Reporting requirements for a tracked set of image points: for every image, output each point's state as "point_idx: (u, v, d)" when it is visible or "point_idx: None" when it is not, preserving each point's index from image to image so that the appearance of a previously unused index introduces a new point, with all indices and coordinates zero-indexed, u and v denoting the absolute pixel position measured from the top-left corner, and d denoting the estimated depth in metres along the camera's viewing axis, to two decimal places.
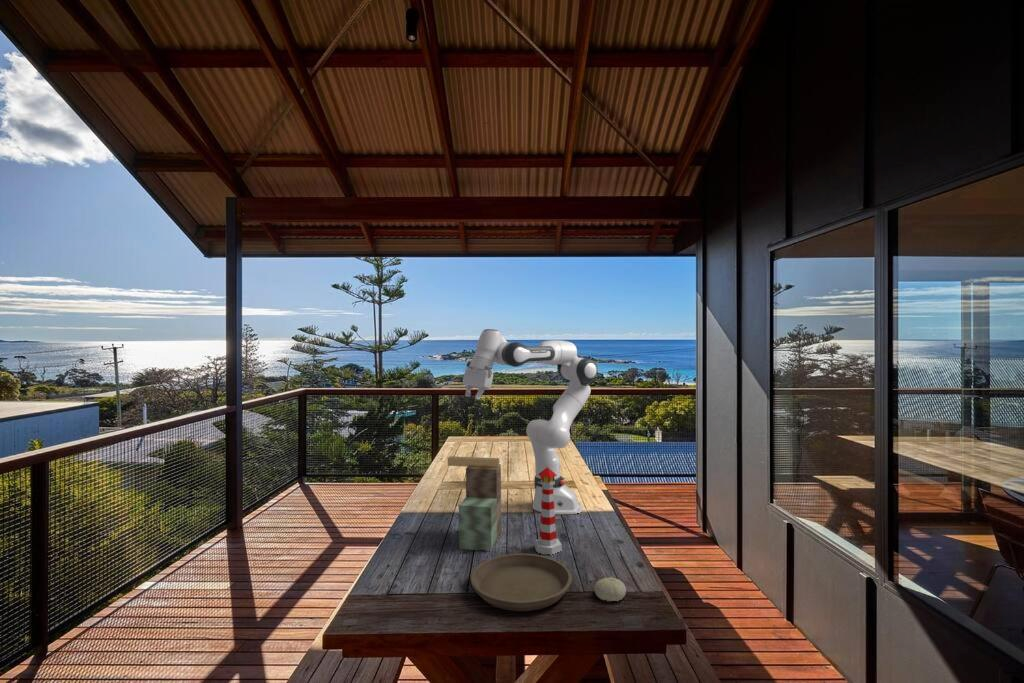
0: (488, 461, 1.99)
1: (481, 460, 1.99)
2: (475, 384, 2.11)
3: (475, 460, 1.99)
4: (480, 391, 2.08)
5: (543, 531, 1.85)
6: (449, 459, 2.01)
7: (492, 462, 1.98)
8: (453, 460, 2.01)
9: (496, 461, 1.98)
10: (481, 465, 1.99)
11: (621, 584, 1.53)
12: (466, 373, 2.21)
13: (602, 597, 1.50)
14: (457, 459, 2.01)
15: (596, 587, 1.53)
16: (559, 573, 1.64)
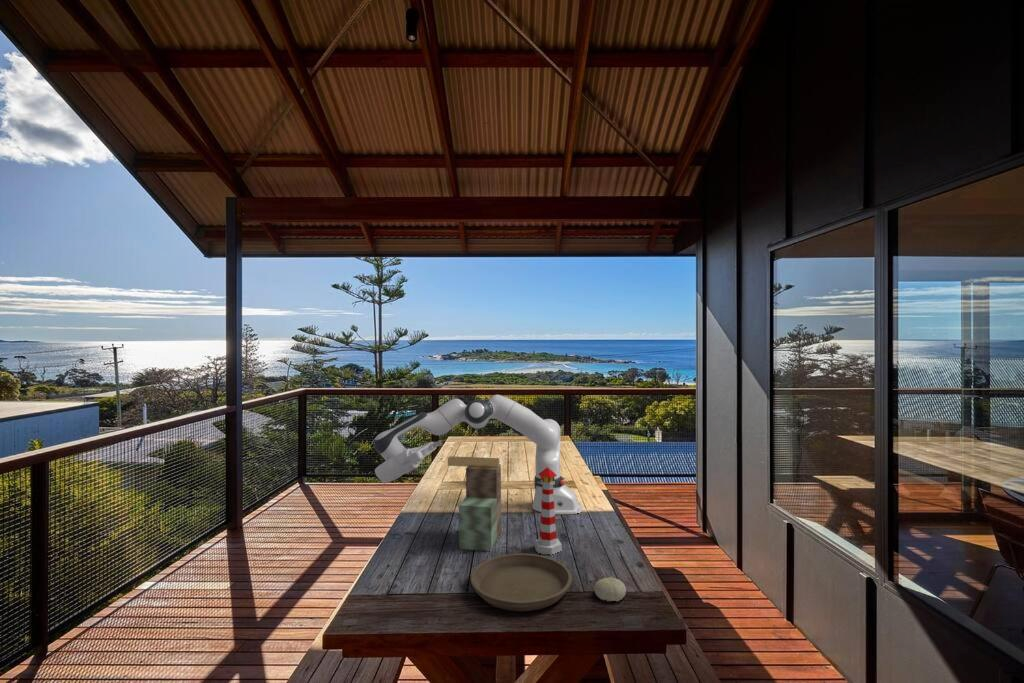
0: (488, 461, 1.99)
1: (481, 460, 1.99)
2: (425, 456, 2.12)
3: (475, 460, 1.99)
4: (425, 452, 2.08)
5: (543, 531, 1.85)
6: (449, 459, 2.01)
7: (492, 462, 1.98)
8: (453, 460, 2.01)
9: (496, 461, 1.98)
10: (481, 465, 1.99)
11: (621, 584, 1.53)
12: (427, 454, 2.23)
13: (602, 597, 1.50)
14: (457, 459, 2.01)
15: (596, 587, 1.53)
16: (559, 573, 1.64)
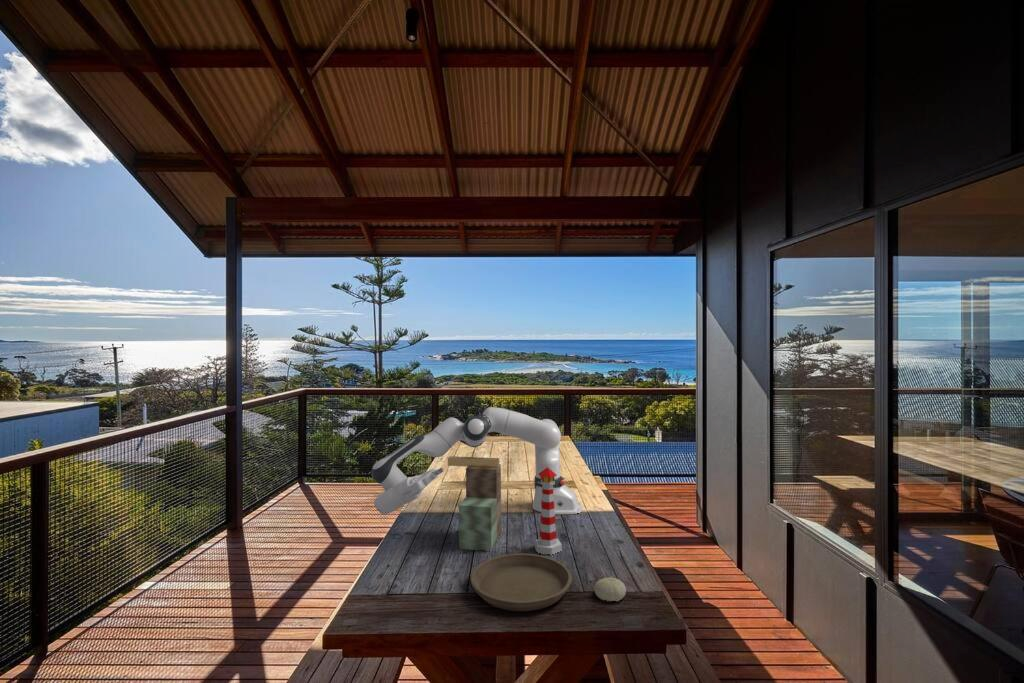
0: (488, 461, 1.99)
1: (481, 460, 1.99)
2: None
3: (475, 460, 1.99)
4: (427, 481, 1.98)
5: (543, 531, 1.85)
6: (449, 459, 2.01)
7: (492, 462, 1.98)
8: (453, 460, 2.01)
9: (496, 461, 1.98)
10: (481, 465, 1.99)
11: (621, 584, 1.53)
12: None
13: (602, 597, 1.50)
14: (457, 459, 2.01)
15: (596, 587, 1.53)
16: (559, 573, 1.64)
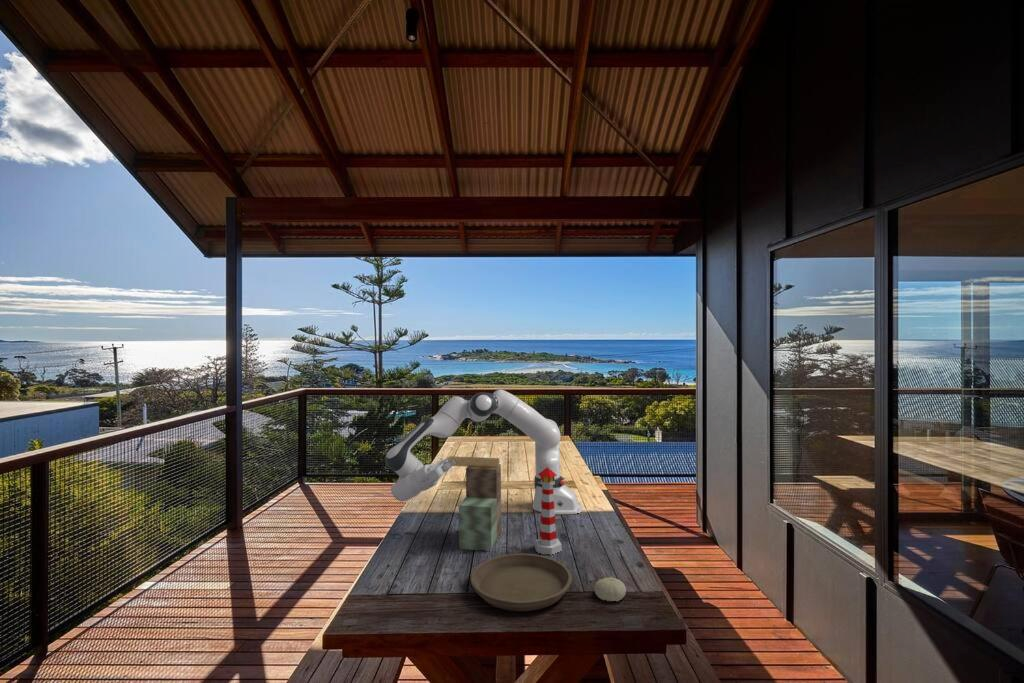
0: (488, 461, 1.99)
1: (481, 460, 1.99)
2: (445, 472, 2.00)
3: (475, 460, 1.99)
4: (447, 467, 1.99)
5: (543, 531, 1.85)
6: (449, 459, 2.01)
7: (492, 462, 1.98)
8: None
9: (496, 461, 1.98)
10: (481, 465, 1.99)
11: (621, 584, 1.53)
12: None
13: (602, 597, 1.50)
14: (457, 459, 2.01)
15: (596, 587, 1.53)
16: (559, 573, 1.64)
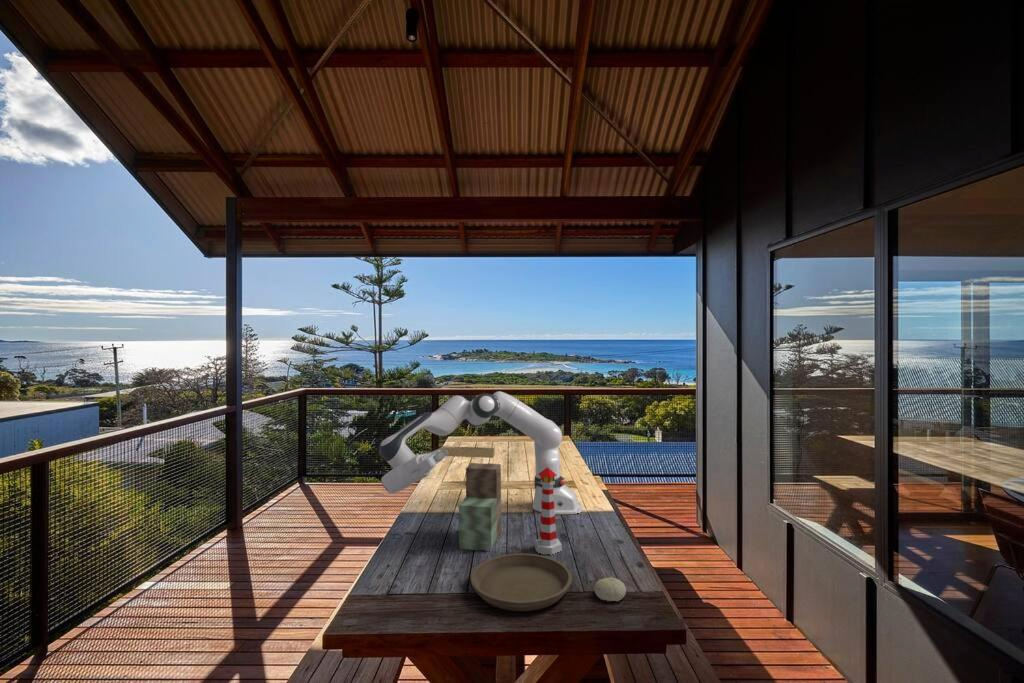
0: (482, 451, 1.90)
1: (475, 450, 1.90)
2: None
3: (469, 450, 1.91)
4: (440, 457, 1.90)
5: (543, 531, 1.85)
6: (442, 449, 1.92)
7: (487, 452, 1.89)
8: None
9: (491, 451, 1.89)
10: (475, 455, 1.90)
11: (621, 584, 1.53)
12: None
13: (602, 597, 1.50)
14: (450, 449, 1.92)
15: (596, 587, 1.53)
16: (559, 573, 1.64)
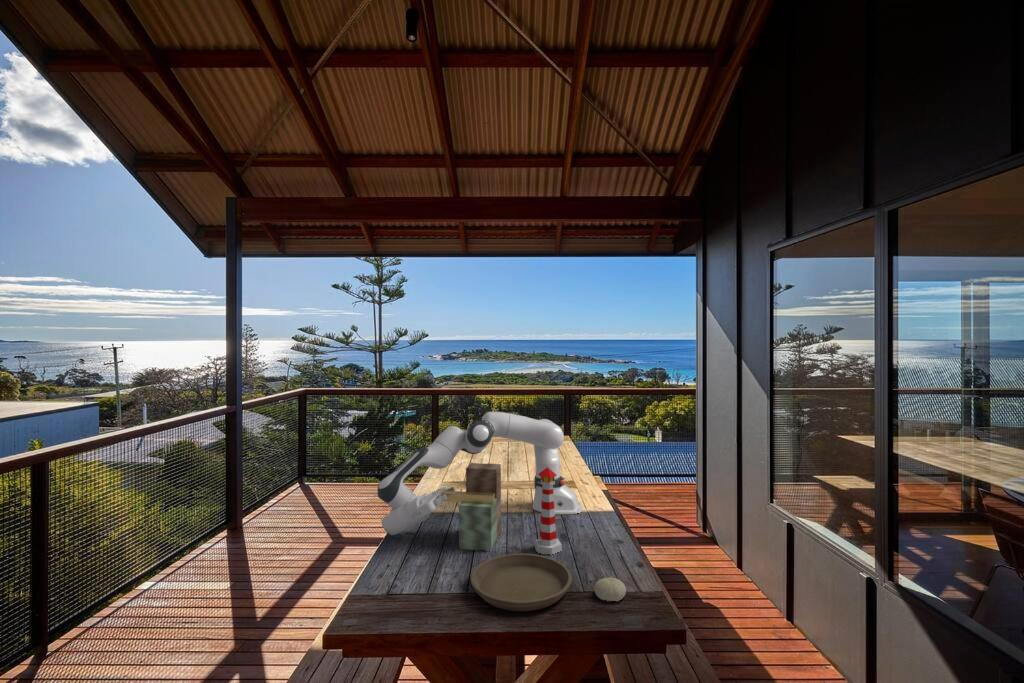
0: (483, 497, 1.90)
1: (475, 496, 1.90)
2: (437, 506, 1.91)
3: (469, 496, 1.91)
4: (438, 502, 1.88)
5: (543, 531, 1.85)
6: (442, 494, 1.93)
7: (487, 498, 1.90)
8: None
9: (491, 497, 1.89)
10: (475, 501, 1.90)
11: (621, 584, 1.53)
12: None
13: (602, 597, 1.50)
14: (450, 494, 1.92)
15: (596, 587, 1.53)
16: (559, 573, 1.64)
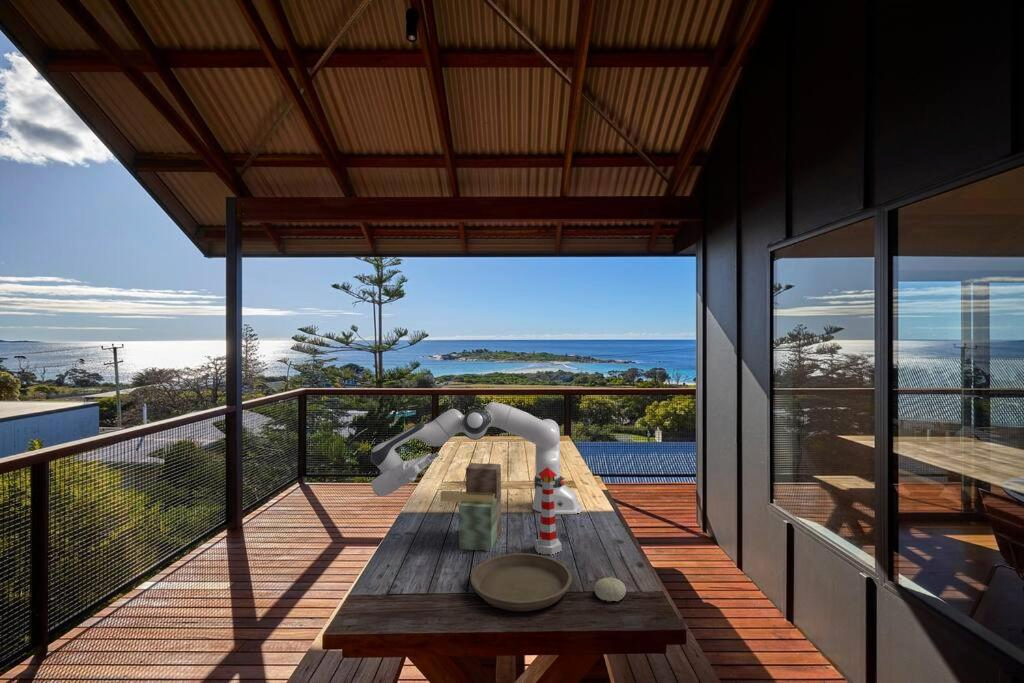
0: (483, 497, 1.90)
1: (475, 496, 1.90)
2: (422, 469, 2.08)
3: (469, 496, 1.91)
4: (422, 465, 2.04)
5: (543, 531, 1.85)
6: (442, 494, 1.93)
7: (487, 498, 1.90)
8: (446, 495, 1.92)
9: (491, 497, 1.89)
10: (475, 501, 1.90)
11: (621, 584, 1.53)
12: None
13: (602, 597, 1.50)
14: (450, 494, 1.92)
15: (596, 587, 1.53)
16: (559, 573, 1.64)
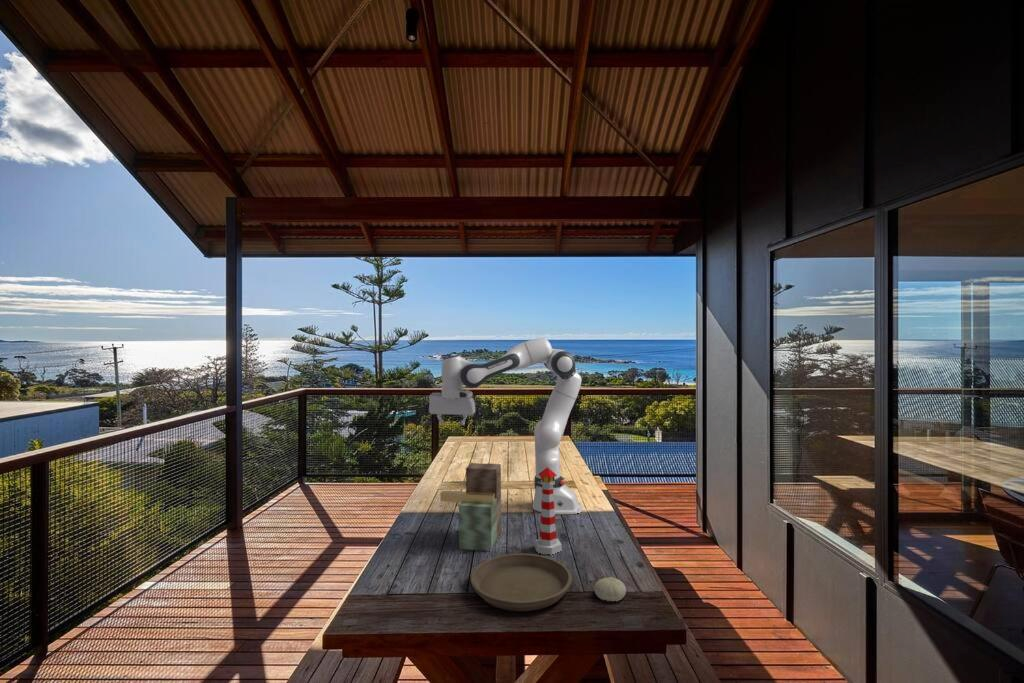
0: (483, 497, 1.90)
1: (475, 496, 1.90)
2: None
3: (469, 496, 1.91)
4: None
5: (543, 531, 1.85)
6: (442, 494, 1.93)
7: (487, 498, 1.90)
8: (446, 495, 1.92)
9: (491, 497, 1.89)
10: (475, 501, 1.90)
11: (621, 584, 1.53)
12: None
13: (602, 597, 1.50)
14: (450, 494, 1.92)
15: (596, 587, 1.53)
16: (559, 573, 1.64)
